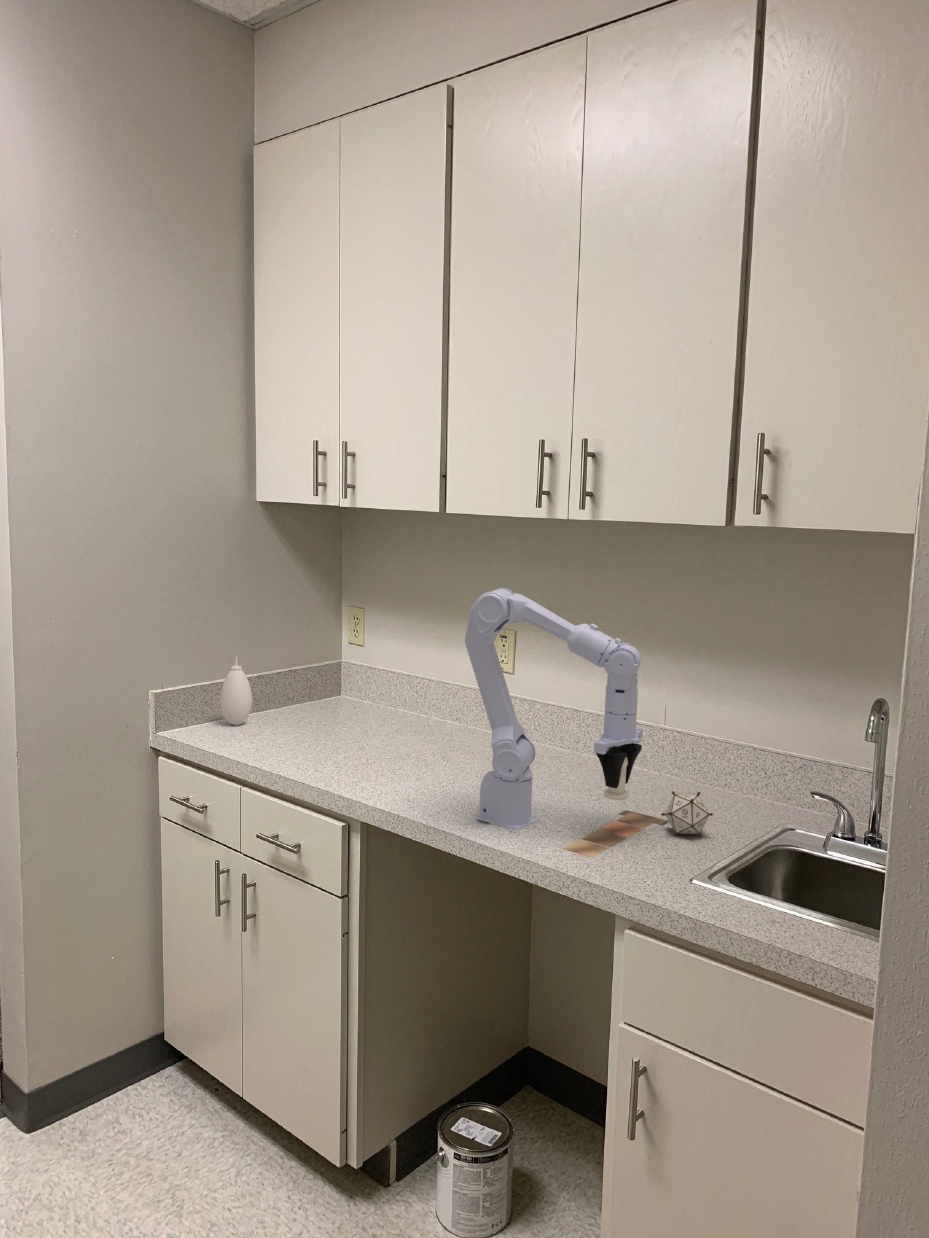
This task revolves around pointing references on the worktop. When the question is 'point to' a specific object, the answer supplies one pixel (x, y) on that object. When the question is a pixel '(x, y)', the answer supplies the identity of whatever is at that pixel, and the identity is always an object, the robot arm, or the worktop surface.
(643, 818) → the board
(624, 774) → the pawn
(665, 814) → the game die
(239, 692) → the air blower bulb
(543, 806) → the worktop surface
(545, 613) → the robot arm
